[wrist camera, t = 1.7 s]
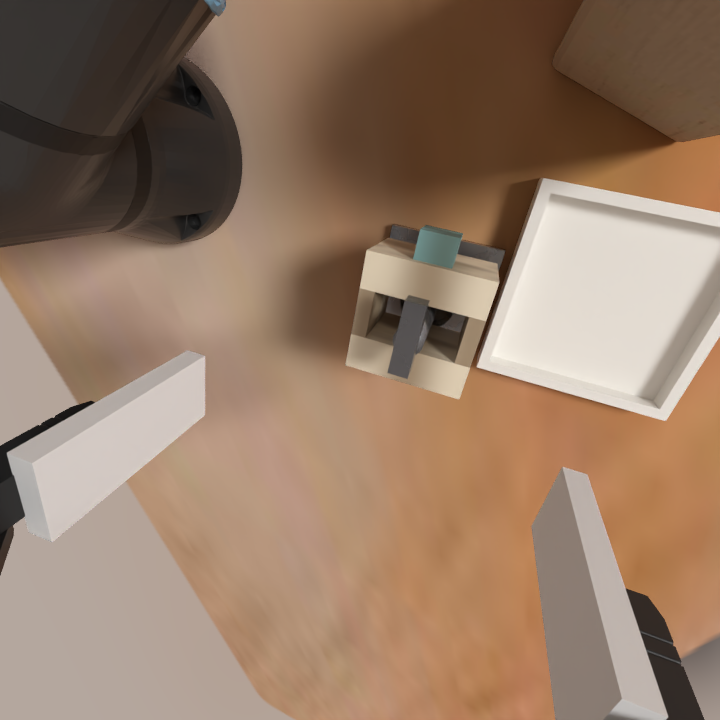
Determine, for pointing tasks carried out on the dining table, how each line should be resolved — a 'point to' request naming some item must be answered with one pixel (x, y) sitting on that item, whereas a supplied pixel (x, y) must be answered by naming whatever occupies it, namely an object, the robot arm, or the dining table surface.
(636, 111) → the wooden block
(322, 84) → the dining table surface
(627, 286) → the tray
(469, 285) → the collar
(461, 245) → the grey lever faucet
